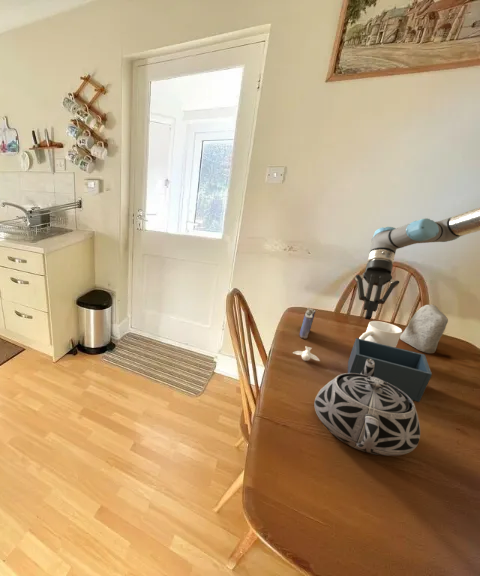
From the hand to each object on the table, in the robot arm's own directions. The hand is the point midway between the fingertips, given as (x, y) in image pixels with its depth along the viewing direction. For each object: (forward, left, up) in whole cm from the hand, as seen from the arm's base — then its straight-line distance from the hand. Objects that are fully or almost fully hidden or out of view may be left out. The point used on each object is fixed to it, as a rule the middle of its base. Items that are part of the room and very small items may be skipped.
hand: (368, 317), depth 115 cm
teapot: (+2, +58, -7) cm, 58 cm away
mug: (-2, +14, -7) cm, 16 cm away
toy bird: (+15, +31, -8) cm, 36 cm away
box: (-4, +30, -7) cm, 31 cm away
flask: (+17, +12, -7) cm, 22 cm away
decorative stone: (-15, -2, -7) cm, 17 cm away
